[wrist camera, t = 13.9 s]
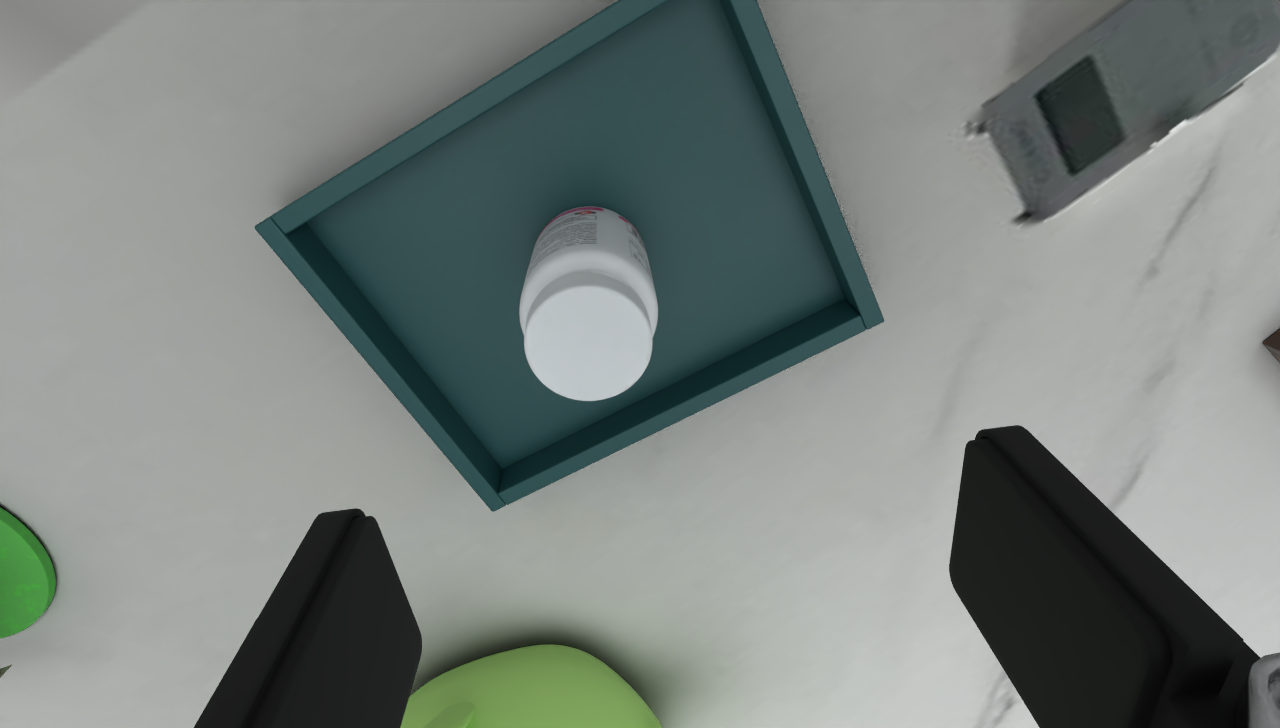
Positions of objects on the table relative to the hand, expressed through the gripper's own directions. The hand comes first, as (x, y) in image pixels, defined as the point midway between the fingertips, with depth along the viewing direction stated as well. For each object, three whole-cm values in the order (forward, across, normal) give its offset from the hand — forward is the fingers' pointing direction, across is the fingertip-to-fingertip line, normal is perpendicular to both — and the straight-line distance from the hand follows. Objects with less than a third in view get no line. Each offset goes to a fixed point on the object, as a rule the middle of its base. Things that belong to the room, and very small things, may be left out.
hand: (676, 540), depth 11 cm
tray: (+19, +2, +1) cm, 19 cm away
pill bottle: (+19, +2, +1) cm, 19 cm away
